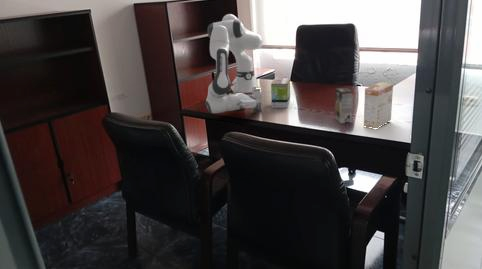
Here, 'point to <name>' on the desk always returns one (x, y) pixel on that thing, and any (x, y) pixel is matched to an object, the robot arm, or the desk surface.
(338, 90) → the coffee box
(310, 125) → the desk surface
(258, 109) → the tin canister
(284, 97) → the tea box
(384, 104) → the coffeecake box
